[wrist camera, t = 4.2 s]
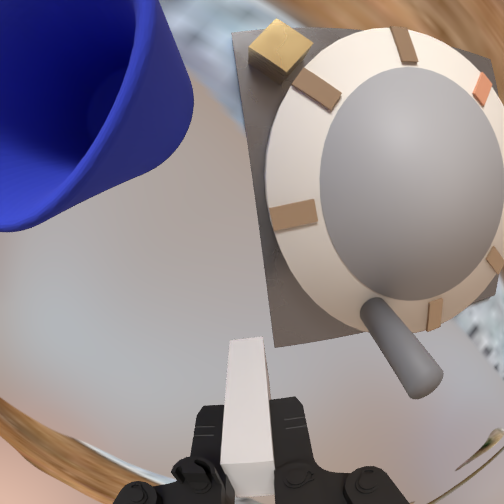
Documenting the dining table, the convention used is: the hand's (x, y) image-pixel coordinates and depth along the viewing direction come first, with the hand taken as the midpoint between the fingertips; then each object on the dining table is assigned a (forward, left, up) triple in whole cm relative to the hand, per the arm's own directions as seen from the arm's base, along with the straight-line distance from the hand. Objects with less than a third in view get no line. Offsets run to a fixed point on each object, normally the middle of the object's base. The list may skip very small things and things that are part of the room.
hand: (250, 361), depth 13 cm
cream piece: (+10, +7, -4) cm, 13 cm away
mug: (-6, +14, -5) cm, 16 cm away
